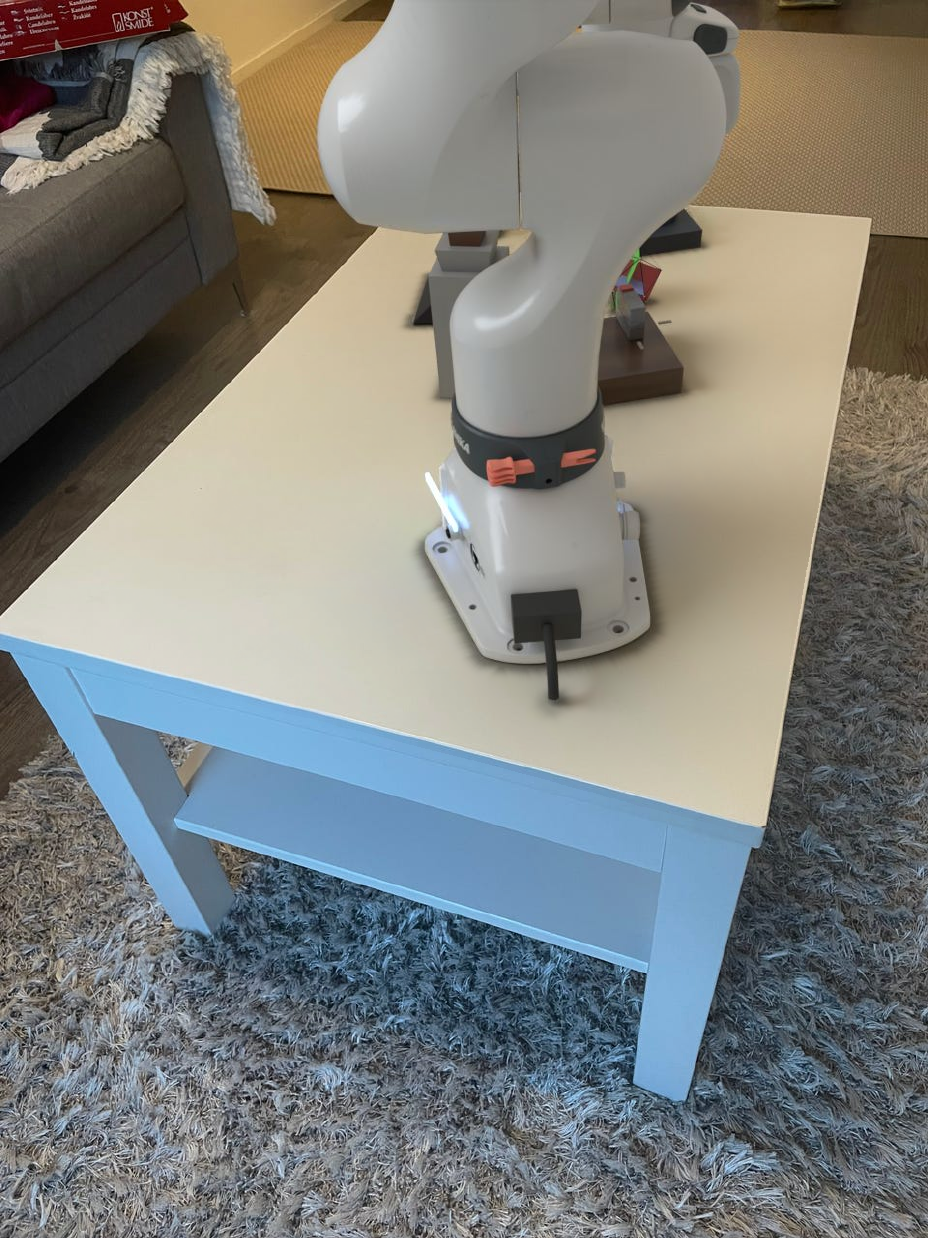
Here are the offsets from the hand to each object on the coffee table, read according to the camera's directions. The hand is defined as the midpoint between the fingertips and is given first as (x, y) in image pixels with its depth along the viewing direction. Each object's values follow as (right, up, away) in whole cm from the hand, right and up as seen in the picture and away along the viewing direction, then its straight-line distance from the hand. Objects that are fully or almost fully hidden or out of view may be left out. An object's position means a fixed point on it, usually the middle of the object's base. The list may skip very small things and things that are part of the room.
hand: (624, 193), depth 93 cm
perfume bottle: (-14, -16, +10) cm, 24 cm away
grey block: (+2, -10, +10) cm, 14 cm away
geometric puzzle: (+4, -4, +20) cm, 21 cm away
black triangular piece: (-17, -3, +24) cm, 29 cm away
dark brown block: (+2, -14, +10) cm, 17 cm away
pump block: (+9, +9, +32) cm, 35 cm away
